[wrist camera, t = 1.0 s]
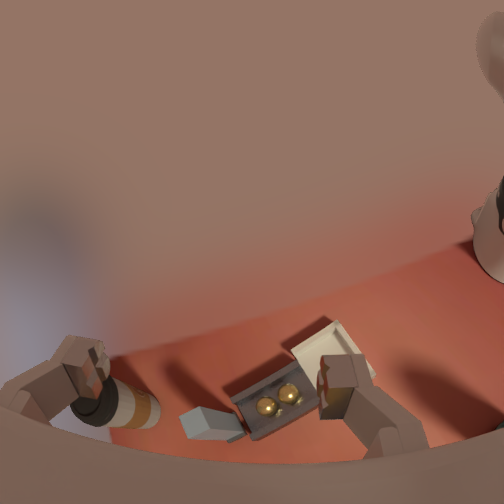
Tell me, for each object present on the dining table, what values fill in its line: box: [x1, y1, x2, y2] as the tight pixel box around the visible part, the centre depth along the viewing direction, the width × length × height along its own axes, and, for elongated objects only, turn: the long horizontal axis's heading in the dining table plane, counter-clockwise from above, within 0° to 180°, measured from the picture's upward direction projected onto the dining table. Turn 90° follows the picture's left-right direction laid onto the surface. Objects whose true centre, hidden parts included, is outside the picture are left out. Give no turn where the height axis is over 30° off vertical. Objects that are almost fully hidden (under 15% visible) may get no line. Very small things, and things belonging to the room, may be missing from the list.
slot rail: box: [230, 360, 320, 441], centre depth 42 cm, size 11×7×3 cm, turn 118°
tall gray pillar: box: [179, 406, 248, 443], centre depth 38 cm, size 3×4×13 cm
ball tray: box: [291, 320, 376, 391], centre depth 43 cm, size 8×10×2 cm
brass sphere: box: [256, 396, 277, 417], centre depth 41 cm, size 3×3×3 cm
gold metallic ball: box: [277, 384, 299, 404], centre depth 42 cm, size 3×3×3 cm
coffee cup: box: [70, 375, 161, 429], centre depth 42 cm, size 8×8×15 cm
